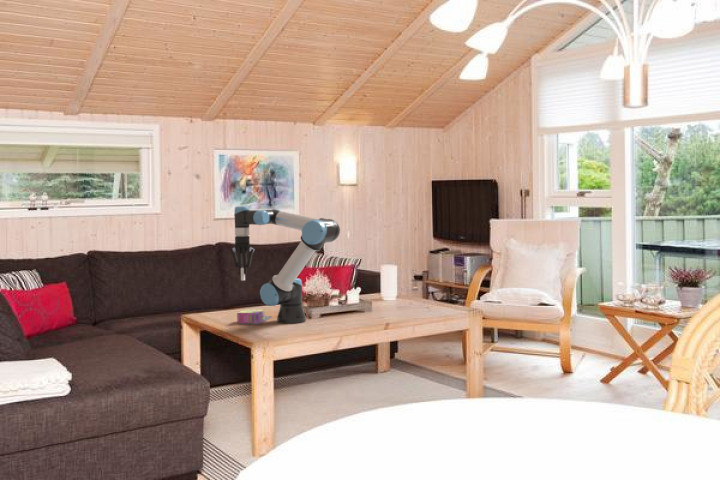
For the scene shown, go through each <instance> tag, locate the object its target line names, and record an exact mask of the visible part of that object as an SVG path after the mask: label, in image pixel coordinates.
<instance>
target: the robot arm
mask: <svg viewBox="0 0 720 480" xmlns="http://www.w3.org/2000/svg"><path fill="white" fill-rule="evenodd" d="M233 217H234V247H233V248H231V249H230V253H231V255H232V258H233V262H234V265H235V267H236V268H238V273H239V275H240V281H241V282H242V281H246V275H247V273H248V272H247V271H248V269H247V268H249V267H251V263H252V260H253V255H254V252H255V250H256V249H255V248H253V247H251V245H250V236H249V235H250V225H252V226H255V225H256V226H257V225H258V226H264V225H268V224H269V225H275V226H281V227H284V228H289V229H293V230H297V231H301V235H300V242H299V244H298V246H296V248H295V250H294V251H293V252H292V254H291V255H290V257H289V258H288V260H287V261H286V262H285V264H284V266H283V267H282V268H281V270H280V271H279V273H278V274H275V275H273V276H272V277H271V279H270V281H269V282H267V283H264V284H262V286H260V287H261V288H260V290H259V295H260V300H261V301H262V302H263V304H264V305H266V306H269V307H275V306H279V310H278V314H277V317H276V321H277V323H280V324H298V323H299V324H300V323H304V322H306V320H307V319H306V318H307V317H306V313H305V311H304V307H303V281H302V279H301V278H298V276H299V275H300V274H301V273H302V271H303V270H304V268H305V266H306V265H307V264H308V263H309V261H310V259H311V258H312V257H313V255H314V254H315V253H316V252H319V251H321V249H322V248H323V247H324V246H325V244H326V243H331V242H333V241H335V240H337V239H338V237H339V236H340V233H341V229H340V228H341V227H340V225H339V223H338V222H337V221H336V220H334V219H332V218H331V219H330V218H324V217H320V218H319V219H318V218H315V217H310V216H305V215H300V214H294V213H290V212H286V211H281V210H280V209H276V208H272V209H250V208H249V206H246V205H245V206H244V205H243V206H242V205H239V206H235V207H234V215H233ZM248 252H249V254H248ZM237 255H238V257H237ZM247 255H248V256H247Z"/></svg>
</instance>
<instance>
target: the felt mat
mask: <svg viewBox="0 0 720 480" xmlns="http://www.w3.org/2000/svg"><path fill="white" fill-rule="evenodd" d="M271 318H273V316H272V315H265V320H264V321H262V322H261V323H259V324H254V323H238V324H239V325H262V324H263V323H265V322H266V321H267V320H270V319H271Z"/></svg>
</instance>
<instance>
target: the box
mask: <svg viewBox="0 0 720 480" xmlns="http://www.w3.org/2000/svg"><path fill="white" fill-rule="evenodd" d="M265 312H266V311H265V309H242V310H241V311H238V312H237V313H236V321H237V324H239V323H254V324H259V323H261V322H262V321H264V320H265V316H266V314H265Z"/></svg>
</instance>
